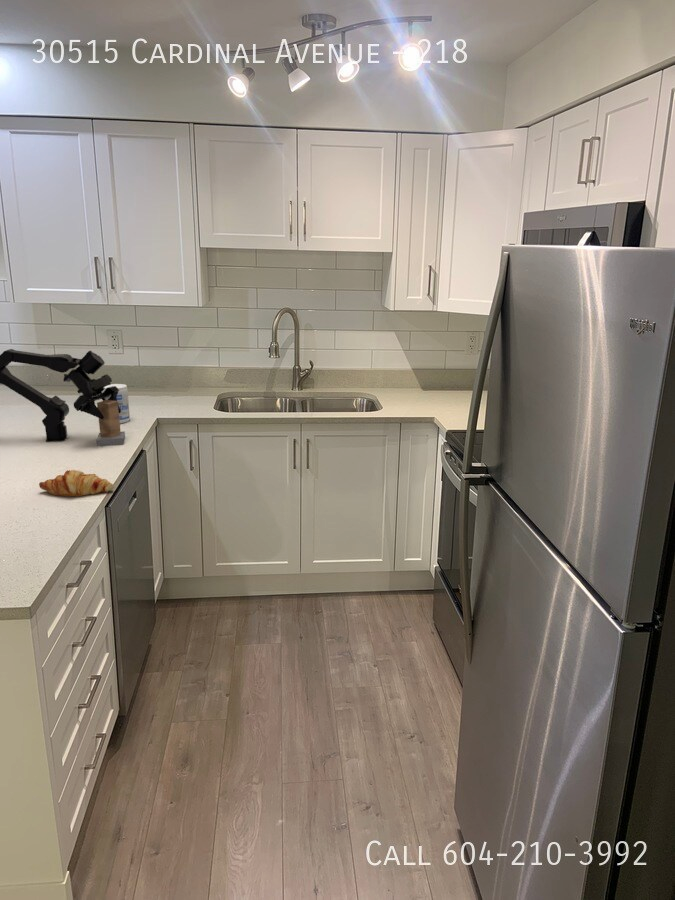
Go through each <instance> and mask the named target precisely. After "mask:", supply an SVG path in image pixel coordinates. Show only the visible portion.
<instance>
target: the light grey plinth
mask: <svg viewBox="0 0 675 900" xmlns="http://www.w3.org/2000/svg"><path fill="white" fill-rule="evenodd" d="M125 440H126V431H121V434H120V435H118V436H115V437H113V438H108V437H101V436H100V432H98V434H97V437H96V447H107V446H122V445H124V444H125Z"/></svg>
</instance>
